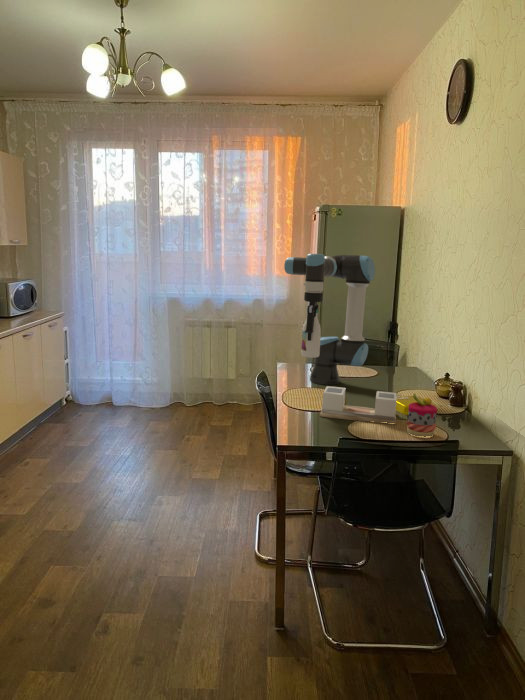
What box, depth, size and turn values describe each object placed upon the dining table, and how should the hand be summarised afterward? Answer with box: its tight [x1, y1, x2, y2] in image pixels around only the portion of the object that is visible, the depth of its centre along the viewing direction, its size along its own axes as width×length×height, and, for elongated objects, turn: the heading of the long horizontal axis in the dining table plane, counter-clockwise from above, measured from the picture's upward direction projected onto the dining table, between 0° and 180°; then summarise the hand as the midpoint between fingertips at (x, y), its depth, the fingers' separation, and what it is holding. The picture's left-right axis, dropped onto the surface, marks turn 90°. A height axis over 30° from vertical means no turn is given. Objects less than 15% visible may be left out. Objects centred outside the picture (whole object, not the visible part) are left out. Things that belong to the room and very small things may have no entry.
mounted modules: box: [321, 385, 397, 417], centre depth 218 cm, size 12×29×8 cm, turn 76°
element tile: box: [396, 395, 436, 416], centre depth 230 cm, size 15×15×5 cm
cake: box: [405, 393, 438, 437], centre depth 198 cm, size 10×11×15 cm
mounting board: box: [319, 404, 397, 424], centre depth 219 cm, size 15×30×3 cm, turn 76°
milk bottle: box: [300, 308, 322, 359], centre depth 221 cm, size 8×8×20 cm
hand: (310, 346), depth 222 cm, fingers closed on milk bottle, 8 cm apart
